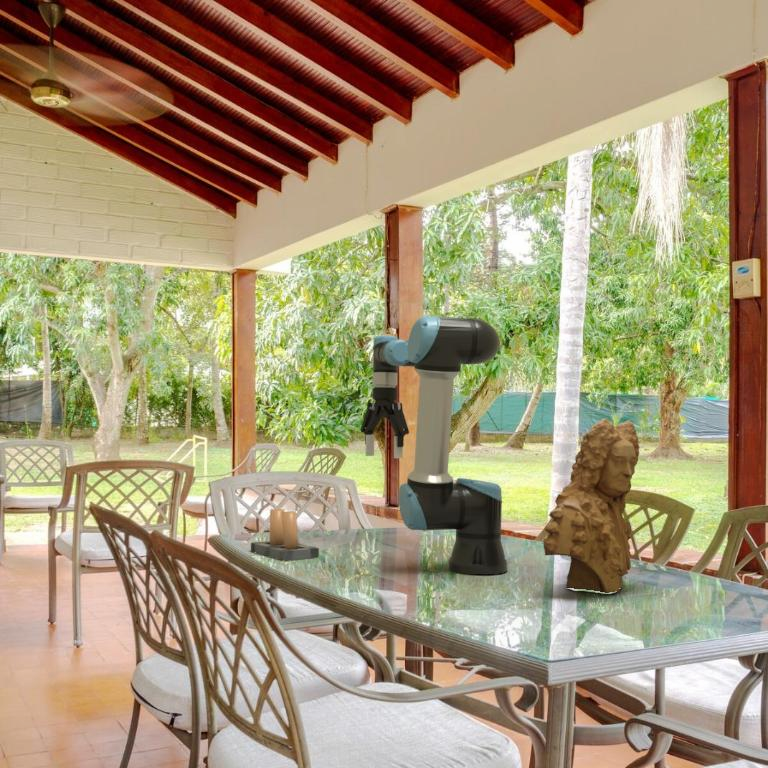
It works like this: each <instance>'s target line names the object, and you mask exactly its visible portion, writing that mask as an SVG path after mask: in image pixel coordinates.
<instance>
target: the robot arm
mask: <svg viewBox="0 0 768 768" xmlns="http://www.w3.org/2000/svg"><path fill="white" fill-rule="evenodd" d="M372 350H373V351H372V352H373V353H372V354H373V355H372V356H373V357H372V361H373V362H372V365H373V366H372V370H373V371H372V386H374V387H372V397H371V398H372V400H374V402H368V403H367V406H366V407H367V409H366V412H365V415H364V417H363V421H362V424H361V427H360V432H361V433H363V434H364V444H365V456H366V457H374V456H375V434H374V432H375V429H376V428H377V426H378V424H379V423H380V421H381V419H383V418H386V419H387V420H388V422H389V423H390V425H391V427H392V429H393V431H394V433H395V434H394V436H393V459H403V454H404V453H403V451H404V450H403V447H404V444H405V443H404V441H405V440H404V437H405V436H406V435H409V433H410V430H409V427H408V423H407V421H406V417H405V414H404V410H403V409H404V408H403V403H402V402H396V400H398V388H397V386H398V370H399V369H398V367H409V368H410V367H412V368H413V369H414V371H415V372H416V373H417V375H418V376H419V386H418V401H417V415H416V418H417V419H416V431H415V432H416V434H415V435H416V436H415V449H414V462H413V463H414V465H413V470H412V471H411V472H410V473H409V474H408V475H407V481H406V483H403V484H401V485H400V486H399V489H398V497H397V498H398V505H399V506H398V507H399V508H398V509H399V511H400V512H399V513H400V516H401V519H402V522H403V523H404V525H405V526H406V527H407V529H409V530H411V531H423V532H425V531H426V532H427V531H439V530H440V531H445V530H451V531H452V530H455V540H454V544H453V547H452V550H451V556H450V557H449V559H448V570H450V571H451V572H455V573H459V574H466V575H474V574H494V575H499V574H498V573H502V574H505V573H507V572H508V561H507V559H506V556H505V551H504V547H503V544H502V512H503V511H502V508H503V507H502V505H503V500H502V499H503V498H502V487H501V486H500V485H499V484H497V483H494V482H490V481H483V480H477V479H472V478H471V479H470V478H464V477H463V478H462V477H459V478H457V479H456V480H455V483H454V478H453V476H452V475H450V473H449V460H450V459H449V457H450V444H451V430H452V429H451V428H452V427H451V426H452V411H453V399H454V384H455V383H454V382H455V379H456V377H457V376H458V375H460V373H461V369H462V368H461V367H462V365H479V364H485V363H487V362H489V361H492V359H494V358H495V357H496V355H497V354H498V352H499V350H500V337H499V334H498V332H497V331H496V329H495V328H494V327H493V326H492V325H491V324H489V323H488V322H487V321H485V320H483V319H482V320H481V319H478V318H470V317H469V318H467V317H466V318H465V317H451V316H449V317H448V316H438V315H435V316H421V317H419V318H418V319H417V320H416V321H415V322H414V324H413V325H412V328H411V330H410V332H409V336H408V340H404V339H399V338H398V337H397V336H393V335H377V336H375V337H374V338H373V346H372ZM506 571H507V572H506ZM504 572H505V573H504Z"/></svg>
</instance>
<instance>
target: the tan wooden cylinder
mask: <svg viewBox="0 0 768 768" xmlns="http://www.w3.org/2000/svg"><path fill="white" fill-rule="evenodd" d="M281 515H282V528H283V542H284V549H288V550H292V549H299V546H298V543H299V535H298V533H299V532H298V521H297V511H295V510H294V511H293V510H292V511H291V510H289V511H284V512H282V513H281Z"/></svg>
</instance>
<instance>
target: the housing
mask: <svg viewBox="0 0 768 768" xmlns="http://www.w3.org/2000/svg"><path fill="white" fill-rule="evenodd" d="M298 546H299V549H292V550H288V549H284V545H276V546H273V545H269V540H267V541H257V542H256V541H255V542H250V552H251V551H252V552H251V553H254V552H256V553H255V554H257V553H259V554H258V555H261V554H262V556H264V555H266V556H265V557H268V556H270V557H269V558H271V557H273V558H272V559H275V558H277V559H276V560H278V559H280V560H279V561H282V560H284V561H283V562H289V561H288V560H291V561H299V560H298V559H300V560H307V559H306V558H309V559H317V558H316V557H320V548H319V547H315V546H311V545H307V544H303V543H299V542H298Z"/></svg>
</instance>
